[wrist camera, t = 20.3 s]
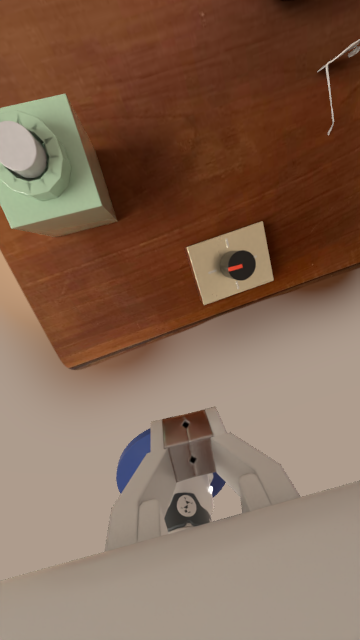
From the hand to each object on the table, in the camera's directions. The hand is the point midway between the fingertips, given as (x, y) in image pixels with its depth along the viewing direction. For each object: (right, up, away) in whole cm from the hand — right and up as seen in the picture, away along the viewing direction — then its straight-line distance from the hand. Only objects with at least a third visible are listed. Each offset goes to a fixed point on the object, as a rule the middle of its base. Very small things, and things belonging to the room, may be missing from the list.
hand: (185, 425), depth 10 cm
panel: (+8, +15, +29) cm, 34 cm away
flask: (-16, +24, +23) cm, 37 cm away
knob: (+9, +14, +26) cm, 31 cm away
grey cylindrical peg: (-15, +20, +10) cm, 27 cm away
